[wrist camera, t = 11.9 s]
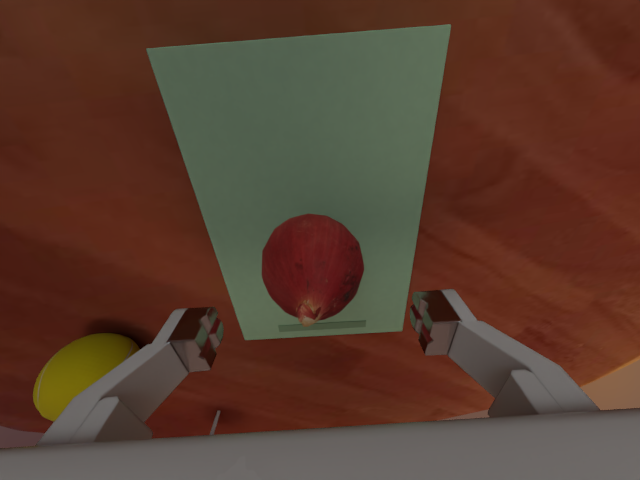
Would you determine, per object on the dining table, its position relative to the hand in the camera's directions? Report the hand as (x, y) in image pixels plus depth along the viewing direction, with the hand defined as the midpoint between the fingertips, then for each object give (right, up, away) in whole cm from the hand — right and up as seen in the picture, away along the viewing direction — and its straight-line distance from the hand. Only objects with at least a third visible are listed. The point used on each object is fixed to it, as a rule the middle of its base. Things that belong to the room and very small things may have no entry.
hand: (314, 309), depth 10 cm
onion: (0, +3, +7) cm, 8 cm away
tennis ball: (-20, -8, +15) cm, 26 cm away
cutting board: (0, +4, +8) cm, 9 cm away
